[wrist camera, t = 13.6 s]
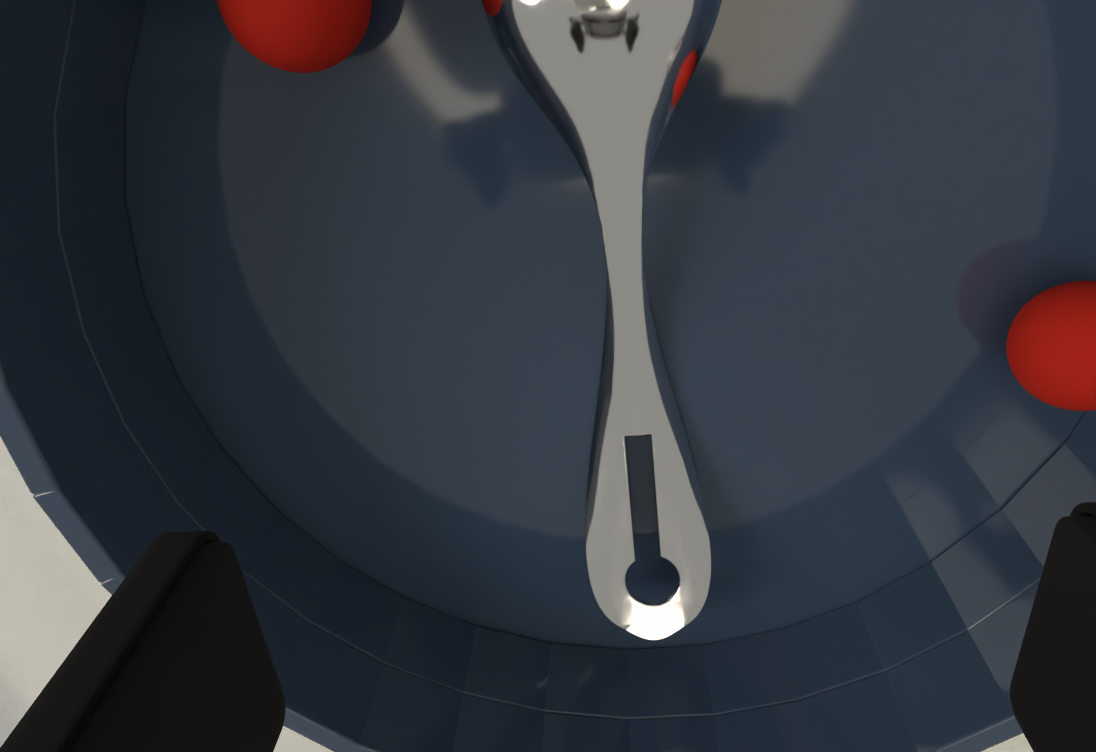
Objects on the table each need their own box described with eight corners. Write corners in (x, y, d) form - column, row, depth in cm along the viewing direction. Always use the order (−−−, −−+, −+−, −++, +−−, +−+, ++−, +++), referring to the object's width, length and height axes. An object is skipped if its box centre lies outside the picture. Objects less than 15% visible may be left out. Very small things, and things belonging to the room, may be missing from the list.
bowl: (36, 454, 24) (-123, 593, 19) (280, -789, 13) (45, -1339, 7) (779, 746, 28) (820, 927, 23) (1487, 9, 17) (1904, 31, 11)
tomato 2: (1123, 309, 20) (1015, 386, 21) (1071, 233, 18) (958, 319, 19) (1219, 376, 17) (1091, 458, 18) (1167, 293, 16) (1032, 387, 17)
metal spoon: (750, 691, 21) (570, 698, 21) (731, 600, 24) (574, 608, 24) (731, -252, 13) (442, -205, 13) (706, -196, 16) (475, -161, 16)
